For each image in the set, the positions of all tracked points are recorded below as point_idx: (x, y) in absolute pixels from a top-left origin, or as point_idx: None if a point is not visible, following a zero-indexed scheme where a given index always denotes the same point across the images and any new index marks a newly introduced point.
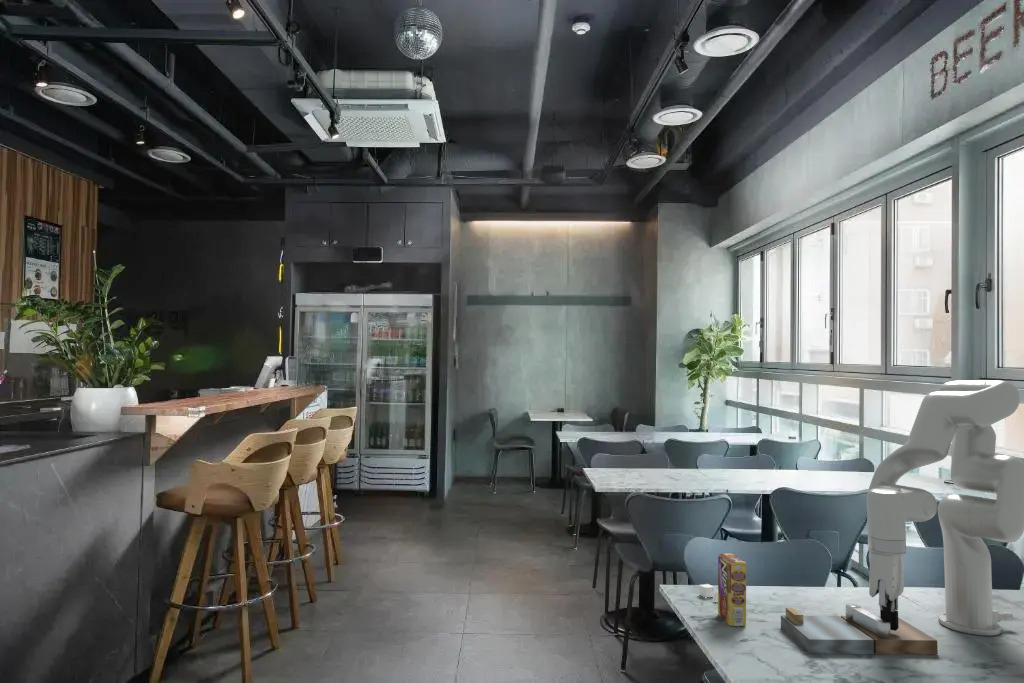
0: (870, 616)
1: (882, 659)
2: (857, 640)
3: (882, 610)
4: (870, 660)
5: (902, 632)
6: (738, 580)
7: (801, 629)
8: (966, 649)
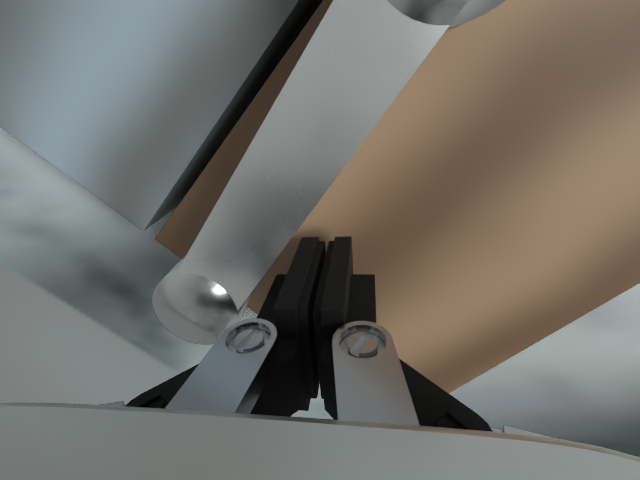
0: (232, 210)
1: (160, 245)
2: (60, 167)
3: (279, 321)
4: (103, 215)
5: (401, 303)
6: None
7: None
8: (542, 423)
